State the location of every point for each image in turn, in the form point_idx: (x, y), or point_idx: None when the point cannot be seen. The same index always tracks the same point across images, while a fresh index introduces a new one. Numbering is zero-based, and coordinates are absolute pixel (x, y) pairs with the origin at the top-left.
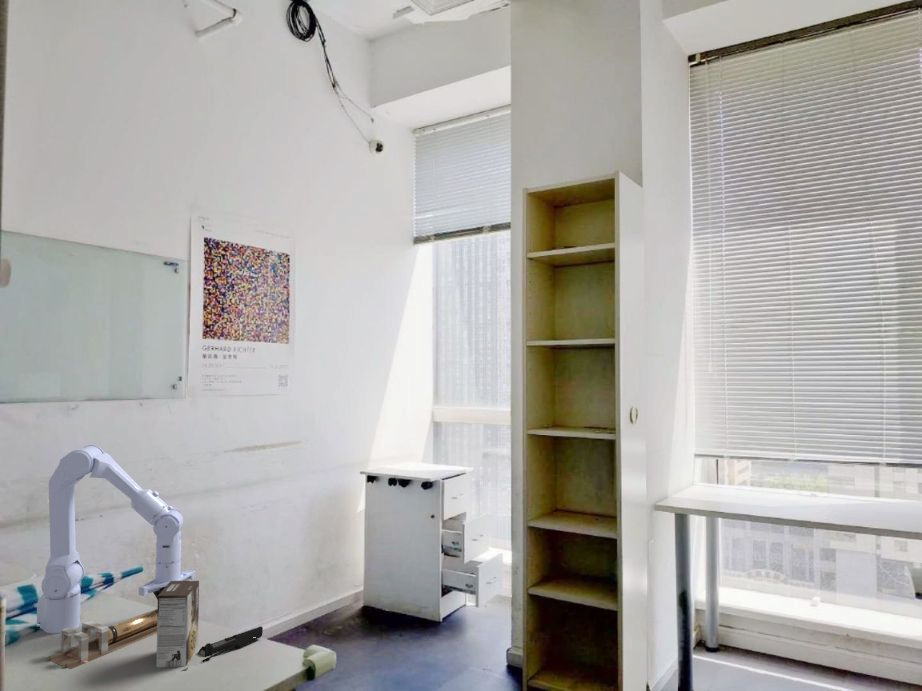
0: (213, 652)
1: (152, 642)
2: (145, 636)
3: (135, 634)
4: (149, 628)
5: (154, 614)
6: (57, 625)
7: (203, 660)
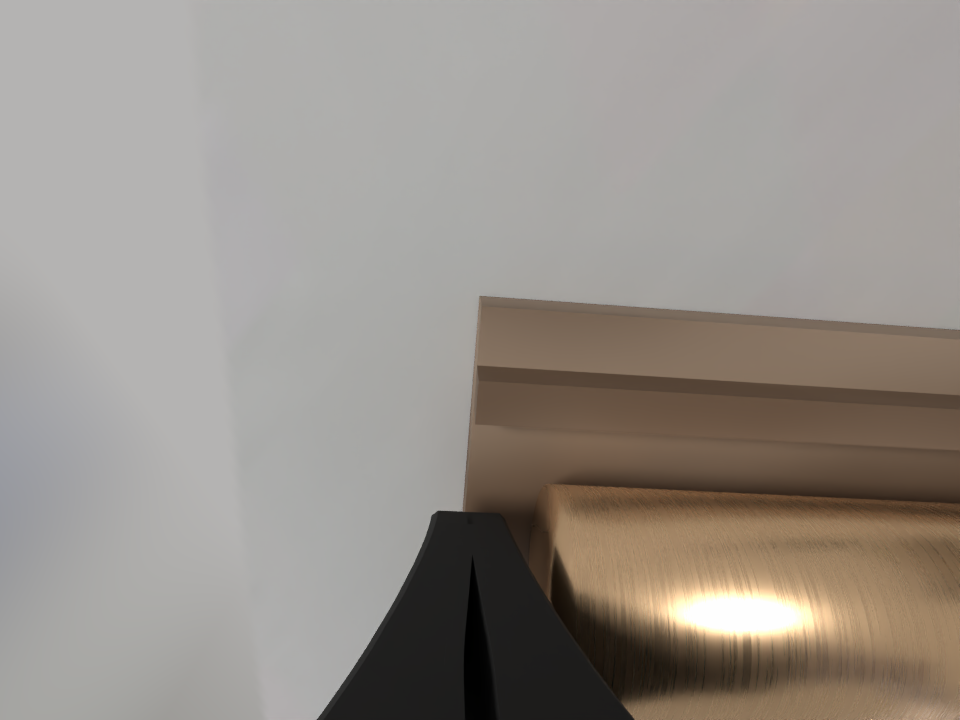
0: None
1: (903, 258)
2: (931, 373)
3: None
4: None
5: (796, 608)
6: None
7: None
